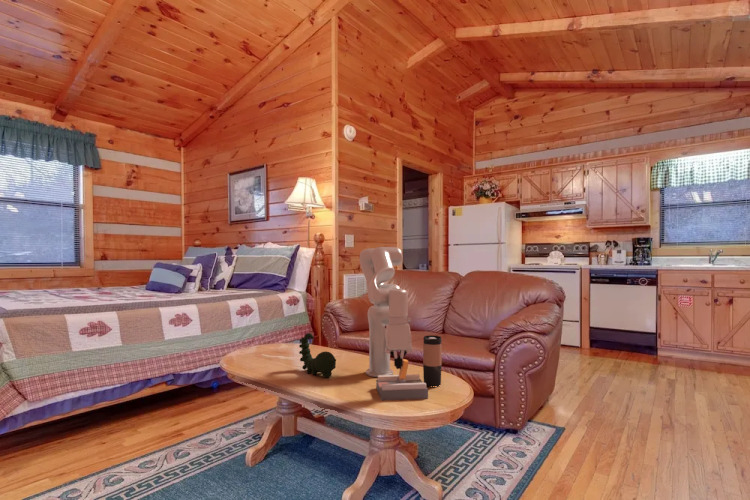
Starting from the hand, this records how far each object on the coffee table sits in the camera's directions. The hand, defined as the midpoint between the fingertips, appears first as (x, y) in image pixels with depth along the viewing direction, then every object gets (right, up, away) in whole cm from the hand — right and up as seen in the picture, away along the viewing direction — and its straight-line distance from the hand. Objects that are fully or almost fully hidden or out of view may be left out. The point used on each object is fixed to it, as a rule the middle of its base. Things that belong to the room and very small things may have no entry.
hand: (398, 368), depth 157 cm
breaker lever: (+1, -6, +1) cm, 7 cm away
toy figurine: (-35, -11, +26) cm, 45 cm away
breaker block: (+1, -10, +1) cm, 10 cm away
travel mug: (+15, -11, +12) cm, 22 cm away
